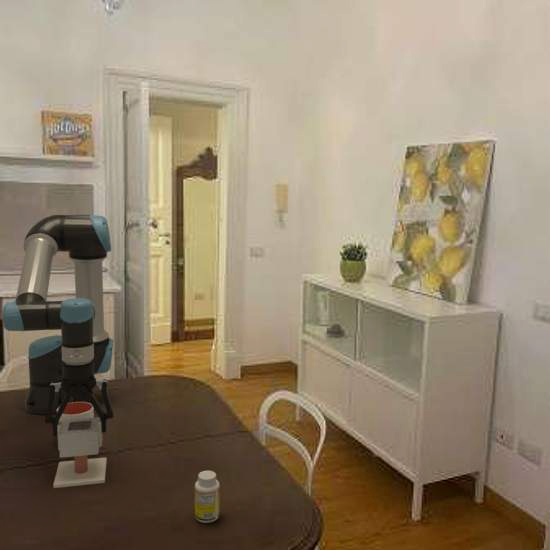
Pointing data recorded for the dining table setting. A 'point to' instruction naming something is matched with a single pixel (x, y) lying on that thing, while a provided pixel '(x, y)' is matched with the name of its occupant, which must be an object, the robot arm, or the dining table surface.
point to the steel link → (79, 437)
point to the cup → (77, 411)
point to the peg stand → (80, 472)
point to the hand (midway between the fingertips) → (80, 445)
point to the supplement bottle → (207, 497)
